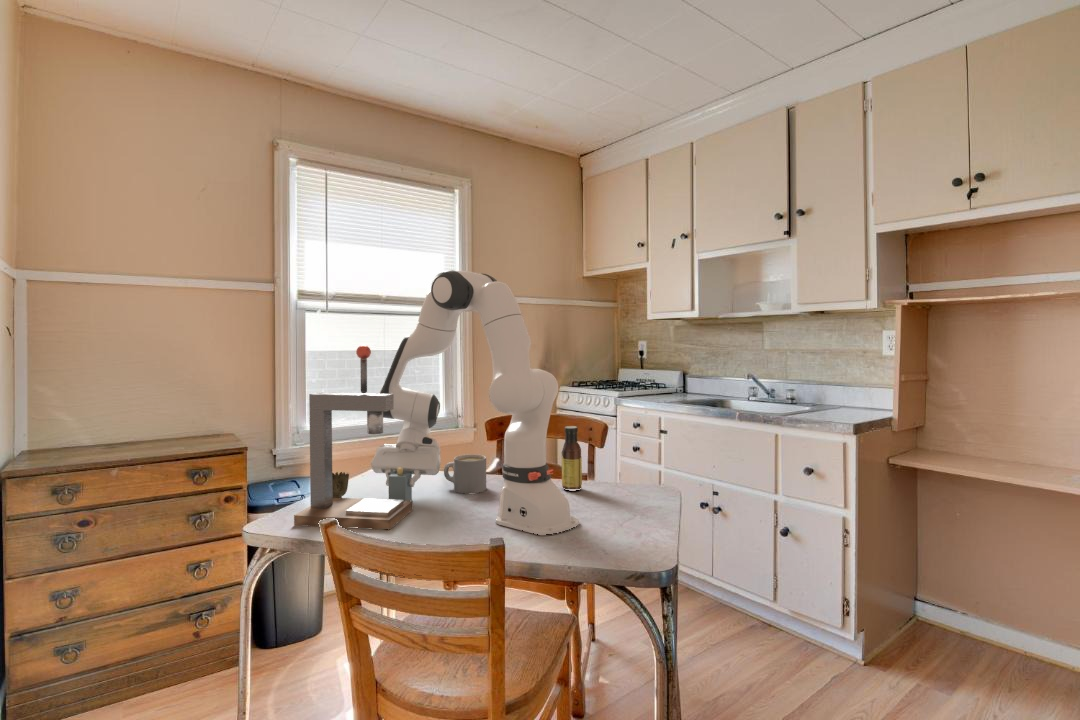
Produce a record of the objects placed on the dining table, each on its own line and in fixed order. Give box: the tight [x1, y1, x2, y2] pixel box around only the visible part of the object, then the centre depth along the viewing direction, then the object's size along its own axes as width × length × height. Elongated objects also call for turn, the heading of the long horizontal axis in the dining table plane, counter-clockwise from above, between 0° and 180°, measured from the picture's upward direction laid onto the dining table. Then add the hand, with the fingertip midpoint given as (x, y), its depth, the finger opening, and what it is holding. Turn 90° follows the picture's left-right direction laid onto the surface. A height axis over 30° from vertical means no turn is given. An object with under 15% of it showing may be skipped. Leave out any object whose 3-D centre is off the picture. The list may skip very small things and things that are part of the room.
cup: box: [332, 471, 350, 498], centre depth 160 cm, size 8×7×8 cm
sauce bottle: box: [560, 425, 583, 489], centre depth 174 cm, size 7×6×20 cm
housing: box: [388, 467, 413, 501], centre depth 160 cm, size 5×5×10 cm
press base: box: [293, 497, 413, 531], centre depth 146 cm, size 25×16×2 cm, turn 83°
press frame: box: [308, 344, 404, 516], centre depth 145 cm, size 22×11×43 cm, turn 83°
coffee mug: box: [443, 453, 487, 495], centre depth 174 cm, size 13×10×10 cm
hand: (399, 485), depth 160 cm, fingers closed on housing, 5 cm apart
